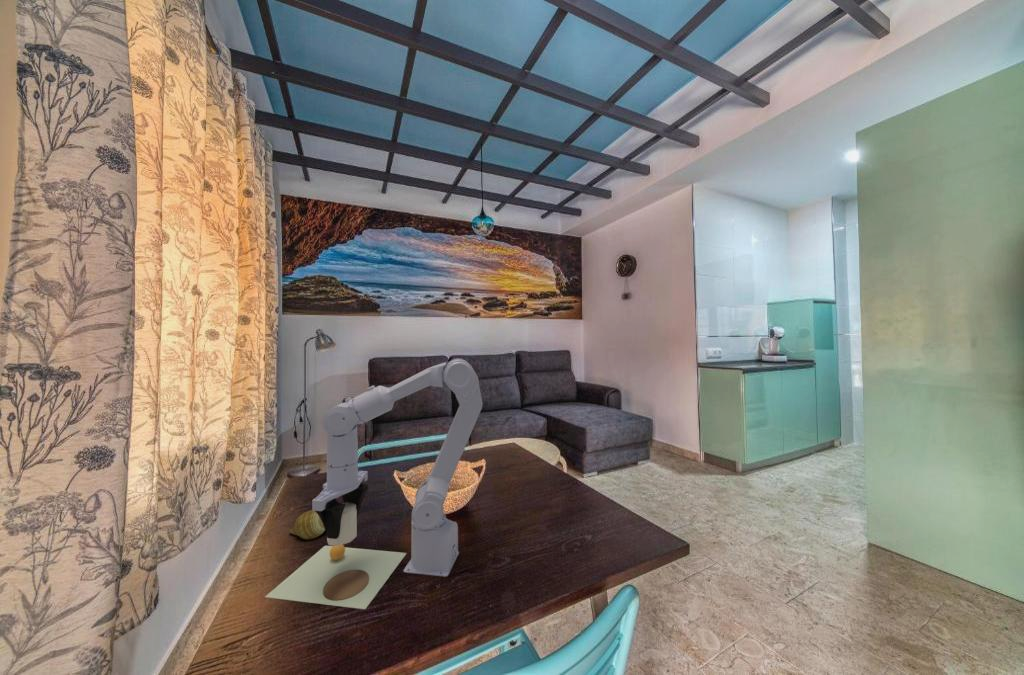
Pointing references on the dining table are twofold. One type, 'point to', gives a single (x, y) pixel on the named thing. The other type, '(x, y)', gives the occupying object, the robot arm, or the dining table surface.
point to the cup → (346, 526)
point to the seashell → (308, 525)
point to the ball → (337, 552)
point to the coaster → (345, 585)
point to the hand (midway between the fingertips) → (342, 529)
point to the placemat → (322, 568)
